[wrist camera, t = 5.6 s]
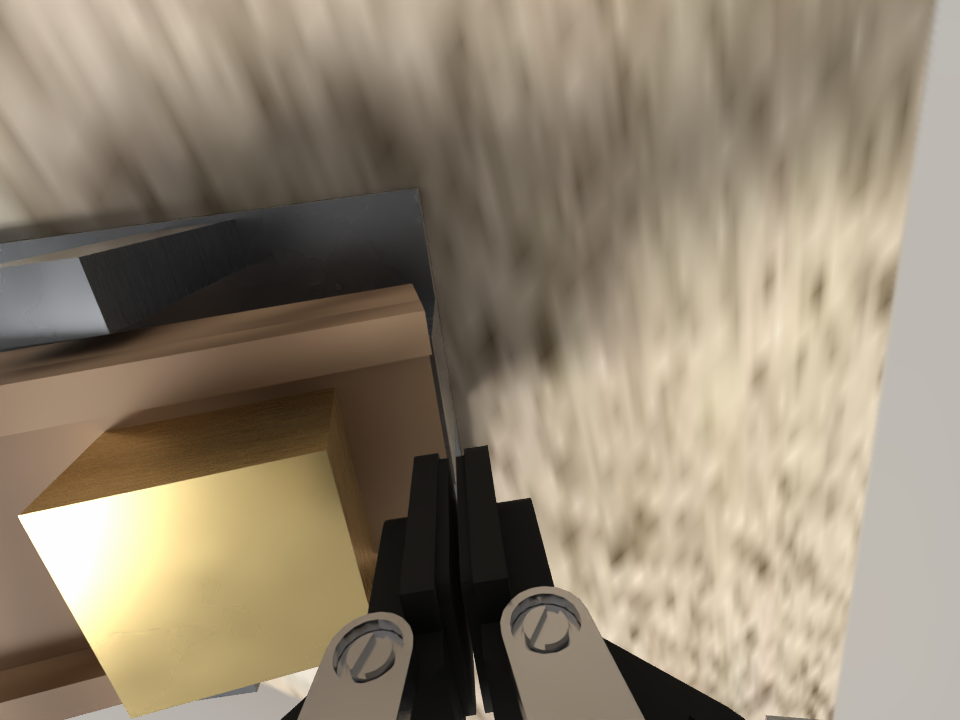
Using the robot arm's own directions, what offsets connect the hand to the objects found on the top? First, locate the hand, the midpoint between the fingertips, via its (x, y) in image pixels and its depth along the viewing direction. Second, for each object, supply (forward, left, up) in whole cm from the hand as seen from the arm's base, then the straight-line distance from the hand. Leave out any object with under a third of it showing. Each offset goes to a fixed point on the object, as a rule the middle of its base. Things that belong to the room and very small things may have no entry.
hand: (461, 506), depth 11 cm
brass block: (+5, 0, -1) cm, 5 cm away
